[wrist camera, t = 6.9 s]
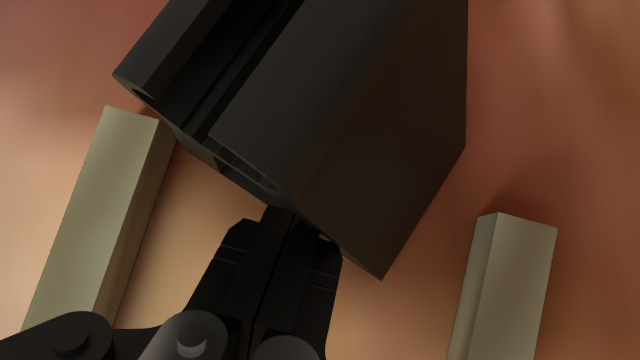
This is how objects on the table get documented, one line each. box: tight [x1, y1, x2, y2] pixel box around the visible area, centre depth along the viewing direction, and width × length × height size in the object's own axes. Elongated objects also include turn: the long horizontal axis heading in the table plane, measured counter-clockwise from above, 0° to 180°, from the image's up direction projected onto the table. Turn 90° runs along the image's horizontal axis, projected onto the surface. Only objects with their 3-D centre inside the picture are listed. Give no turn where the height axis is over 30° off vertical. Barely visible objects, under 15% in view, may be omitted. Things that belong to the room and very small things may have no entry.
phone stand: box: [112, 0, 468, 281], centre depth 11 cm, size 9×6×12 cm, turn 56°
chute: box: [20, 105, 558, 360], centre depth 16 cm, size 16×34×3 cm, turn 164°
